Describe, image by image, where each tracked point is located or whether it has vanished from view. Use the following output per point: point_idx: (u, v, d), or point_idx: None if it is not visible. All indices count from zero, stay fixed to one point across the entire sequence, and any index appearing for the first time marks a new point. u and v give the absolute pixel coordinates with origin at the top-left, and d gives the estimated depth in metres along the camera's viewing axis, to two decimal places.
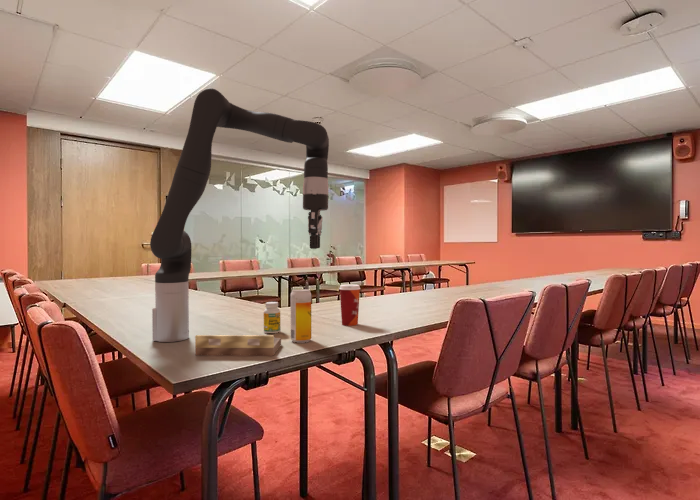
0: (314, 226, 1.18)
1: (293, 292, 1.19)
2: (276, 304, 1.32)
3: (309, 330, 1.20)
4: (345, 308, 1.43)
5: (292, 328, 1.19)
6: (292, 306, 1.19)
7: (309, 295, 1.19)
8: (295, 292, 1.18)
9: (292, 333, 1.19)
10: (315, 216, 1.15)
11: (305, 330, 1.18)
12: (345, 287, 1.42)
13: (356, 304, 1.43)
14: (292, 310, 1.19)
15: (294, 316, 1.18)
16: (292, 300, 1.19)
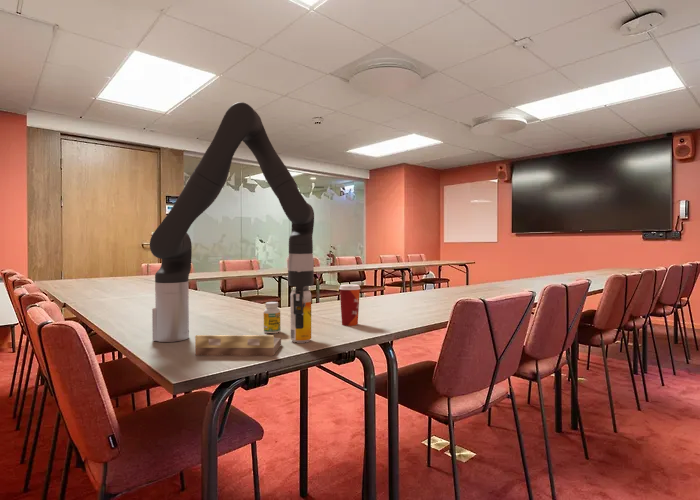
0: (299, 305, 1.18)
1: (293, 292, 1.19)
2: (276, 304, 1.32)
3: (309, 330, 1.20)
4: (345, 308, 1.43)
5: (292, 328, 1.19)
6: (292, 306, 1.19)
7: (309, 295, 1.19)
8: None
9: (292, 333, 1.19)
10: (300, 298, 1.14)
11: (305, 330, 1.18)
12: (345, 287, 1.42)
13: (356, 304, 1.43)
14: (292, 310, 1.19)
15: (294, 316, 1.18)
16: (292, 300, 1.19)
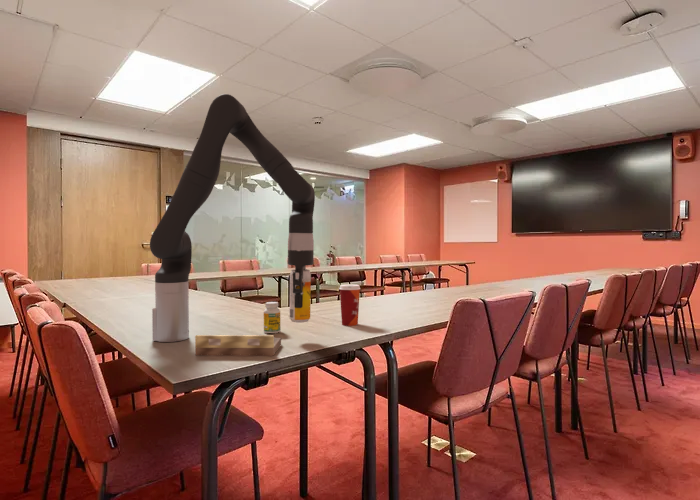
0: (299, 285, 1.17)
1: (293, 271, 1.19)
2: (276, 304, 1.32)
3: (308, 310, 1.19)
4: (345, 308, 1.43)
5: (291, 307, 1.19)
6: (291, 285, 1.19)
7: (309, 275, 1.19)
8: None
9: (291, 312, 1.19)
10: (299, 277, 1.14)
11: (304, 310, 1.18)
12: (345, 287, 1.42)
13: (356, 304, 1.43)
14: (291, 289, 1.19)
15: (293, 295, 1.18)
16: (291, 279, 1.19)
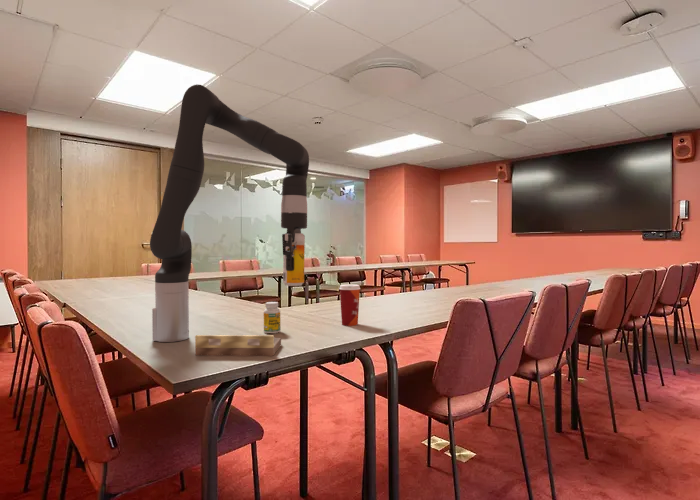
0: None
1: None
2: (276, 304, 1.32)
3: (301, 273, 1.18)
4: (345, 308, 1.43)
5: (284, 271, 1.18)
6: None
7: (301, 238, 1.18)
8: None
9: (284, 276, 1.18)
10: (288, 239, 1.13)
11: (296, 273, 1.17)
12: (345, 287, 1.42)
13: (356, 304, 1.43)
14: None
15: (285, 258, 1.17)
16: None
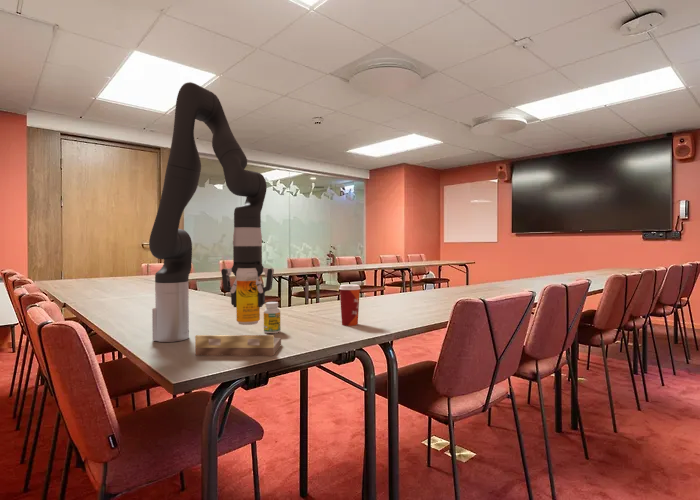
0: None
1: None
2: (276, 304, 1.32)
3: (240, 312, 1.08)
4: (345, 308, 1.43)
5: None
6: None
7: (240, 273, 1.08)
8: None
9: None
10: None
11: (237, 310, 1.09)
12: (345, 287, 1.42)
13: (356, 304, 1.43)
14: None
15: None
16: None
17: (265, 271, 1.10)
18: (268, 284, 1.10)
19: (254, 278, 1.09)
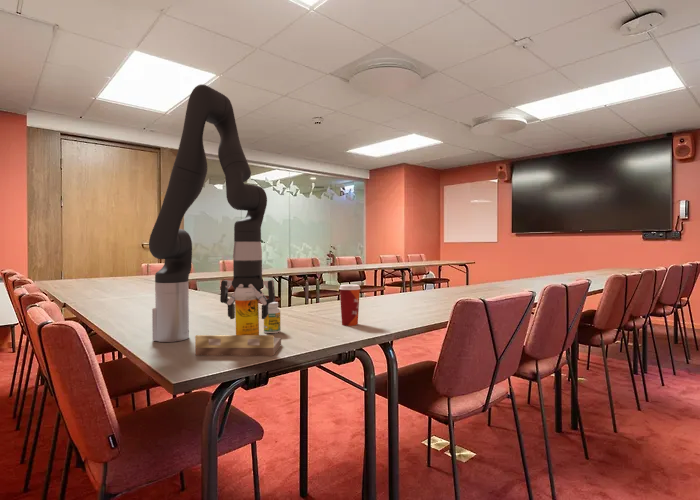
0: None
1: None
2: (276, 304, 1.32)
3: (239, 331, 1.08)
4: (345, 308, 1.43)
5: None
6: None
7: (238, 293, 1.08)
8: None
9: None
10: None
11: (236, 330, 1.09)
12: (345, 287, 1.42)
13: (356, 304, 1.43)
14: None
15: None
16: None
17: (265, 284, 1.10)
18: (271, 296, 1.10)
19: (253, 297, 1.09)
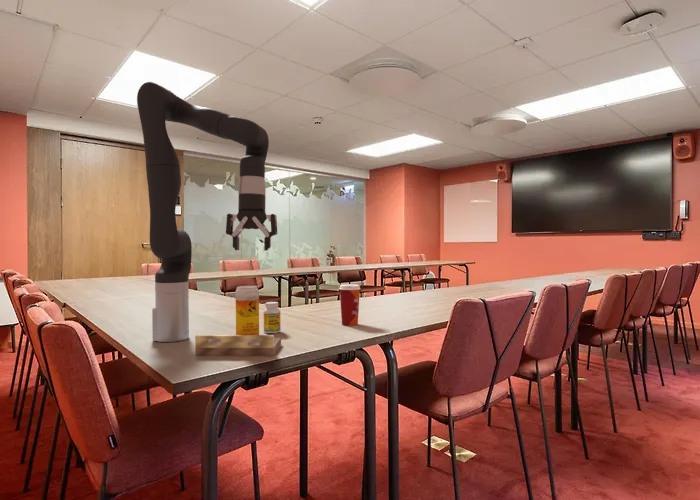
0: None
1: None
2: (276, 304, 1.32)
3: (239, 331, 1.09)
4: (345, 308, 1.43)
5: None
6: None
7: (239, 293, 1.08)
8: None
9: None
10: None
11: (236, 330, 1.09)
12: (345, 287, 1.42)
13: (356, 304, 1.43)
14: None
15: None
16: None
17: (268, 217, 1.17)
18: (273, 228, 1.16)
19: (253, 297, 1.09)
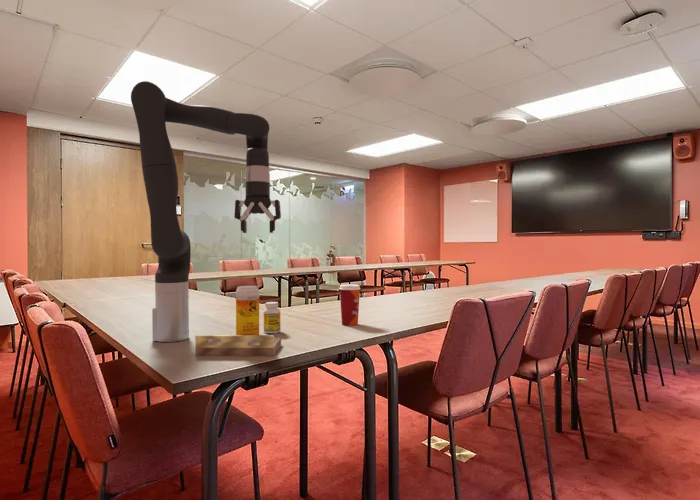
0: None
1: None
2: (276, 304, 1.32)
3: (240, 331, 1.09)
4: (345, 308, 1.43)
5: None
6: None
7: (240, 292, 1.08)
8: None
9: None
10: None
11: (236, 329, 1.09)
12: (345, 287, 1.42)
13: (356, 304, 1.43)
14: None
15: None
16: None
17: (273, 203, 1.30)
18: (277, 213, 1.29)
19: (254, 297, 1.09)
